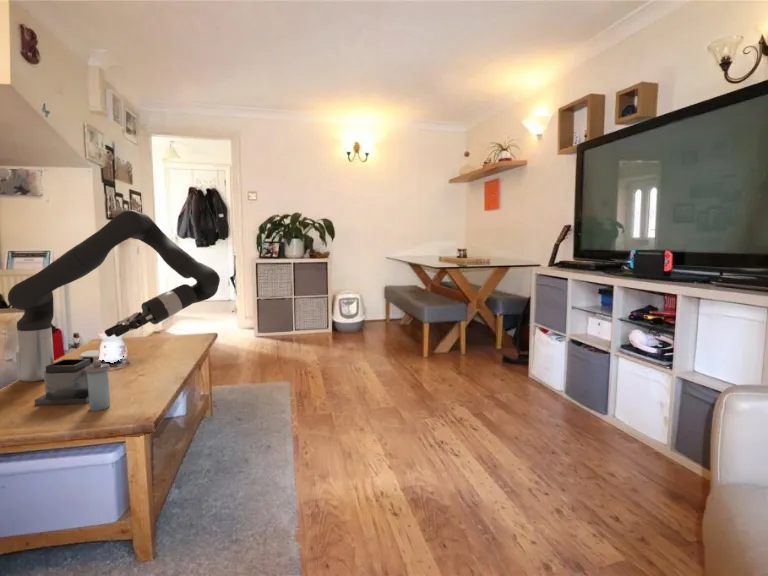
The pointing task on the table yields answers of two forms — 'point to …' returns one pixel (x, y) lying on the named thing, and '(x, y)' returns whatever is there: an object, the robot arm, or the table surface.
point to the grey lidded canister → (98, 385)
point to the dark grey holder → (65, 383)
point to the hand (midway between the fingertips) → (110, 334)
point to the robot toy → (90, 355)
